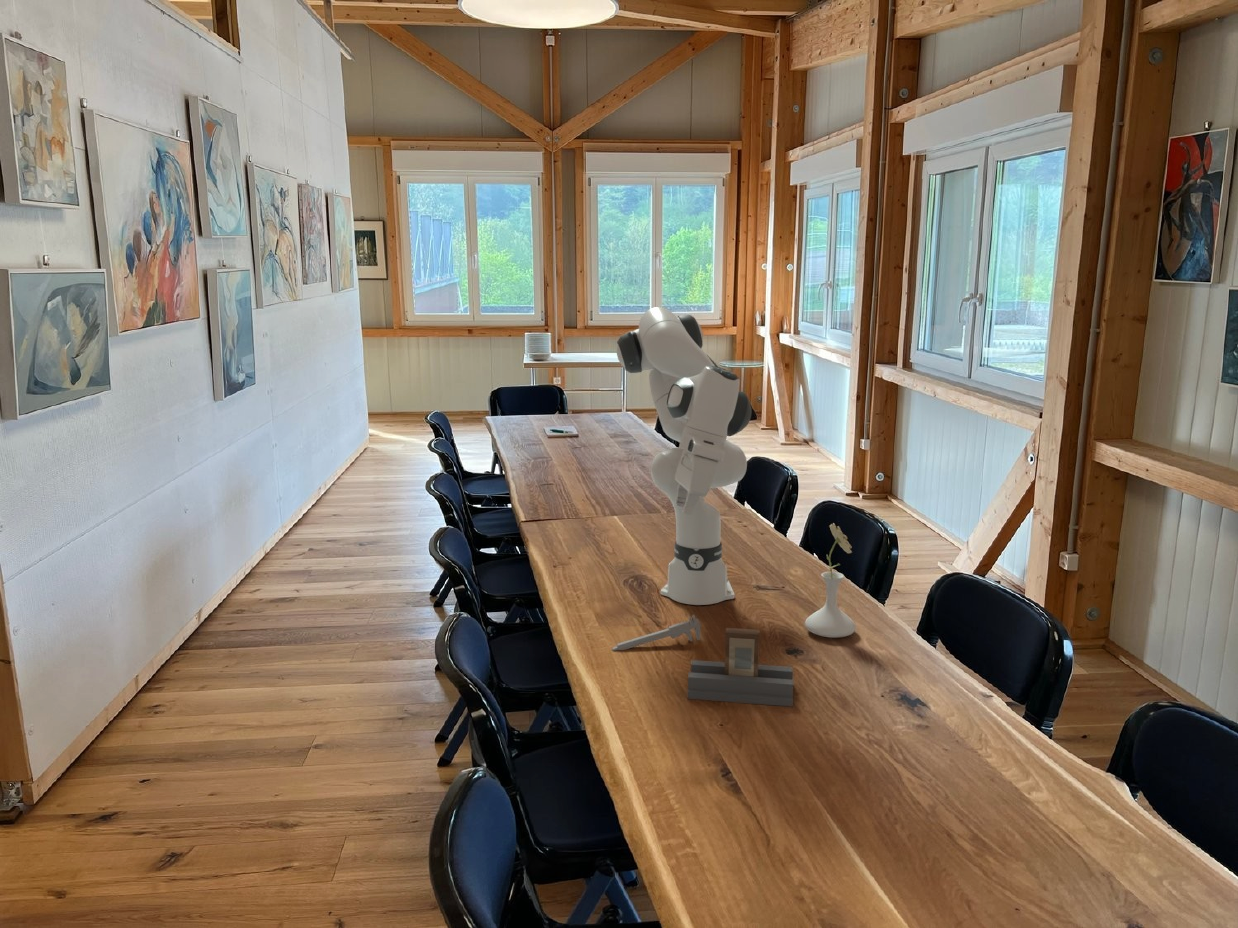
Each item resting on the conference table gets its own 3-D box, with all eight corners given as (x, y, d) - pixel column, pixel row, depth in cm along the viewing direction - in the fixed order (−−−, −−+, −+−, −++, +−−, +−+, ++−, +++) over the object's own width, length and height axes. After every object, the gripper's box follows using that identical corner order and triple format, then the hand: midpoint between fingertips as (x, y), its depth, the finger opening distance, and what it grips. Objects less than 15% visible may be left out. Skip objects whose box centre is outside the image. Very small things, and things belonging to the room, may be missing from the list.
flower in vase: (856, 644, 200) (862, 535, 195) (804, 640, 202) (808, 532, 197) (853, 622, 212) (859, 519, 207) (804, 618, 214) (808, 517, 209)
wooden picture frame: (724, 679, 179) (726, 627, 177) (757, 682, 178) (759, 629, 176) (724, 685, 176) (725, 632, 174) (757, 688, 175) (758, 635, 173)
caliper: (698, 639, 203) (699, 613, 202) (700, 641, 202) (700, 615, 201) (611, 650, 197) (611, 623, 196) (612, 652, 196) (612, 625, 195)
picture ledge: (692, 676, 184) (692, 657, 183) (791, 683, 181) (792, 664, 180) (687, 698, 174) (687, 679, 174) (792, 706, 171) (793, 686, 170)
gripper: (679, 436, 194) (661, 497, 195) (695, 446, 174) (675, 514, 175) (706, 444, 195) (688, 505, 196) (726, 454, 175) (706, 522, 176)
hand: (682, 509), depth 185 cm, fingers open, 8 cm apart
